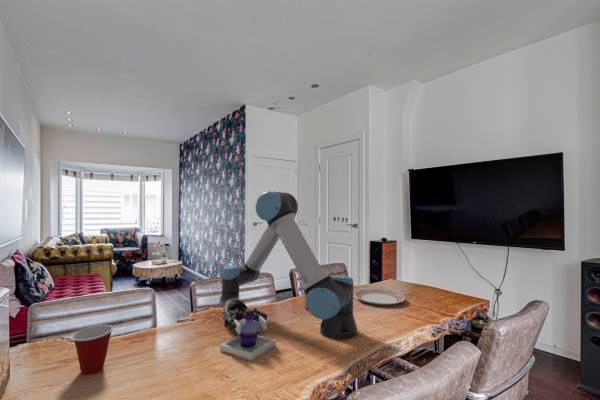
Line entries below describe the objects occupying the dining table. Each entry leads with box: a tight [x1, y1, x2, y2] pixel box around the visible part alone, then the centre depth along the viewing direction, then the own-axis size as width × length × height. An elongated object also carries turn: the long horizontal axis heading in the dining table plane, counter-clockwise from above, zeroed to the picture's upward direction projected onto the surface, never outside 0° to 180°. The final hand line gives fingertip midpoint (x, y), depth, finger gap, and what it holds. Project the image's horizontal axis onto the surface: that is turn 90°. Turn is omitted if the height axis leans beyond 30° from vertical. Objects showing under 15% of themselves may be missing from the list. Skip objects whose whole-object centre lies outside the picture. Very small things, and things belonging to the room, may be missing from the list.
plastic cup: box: [70, 324, 114, 376], centre depth 98 cm, size 11×11×12 cm
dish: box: [219, 334, 277, 362], centre depth 115 cm, size 14×14×2 cm
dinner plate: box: [354, 288, 406, 306], centre depth 179 cm, size 27×27×3 cm
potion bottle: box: [237, 308, 262, 347], centre depth 115 cm, size 9×9×12 cm
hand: (252, 327), depth 111 cm, fingers open, 9 cm apart
